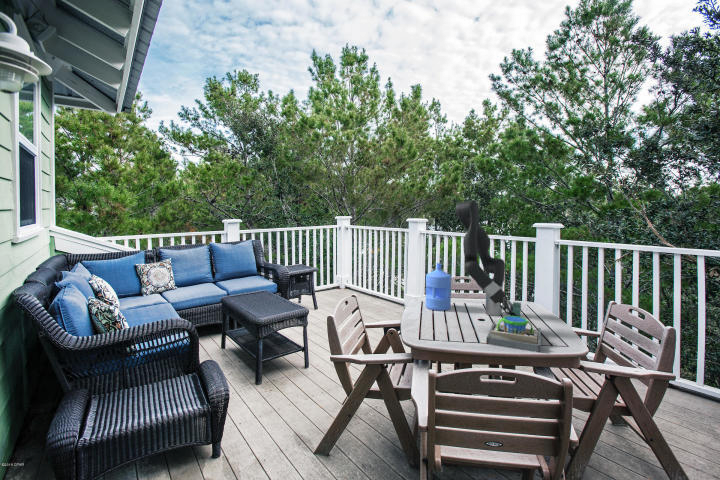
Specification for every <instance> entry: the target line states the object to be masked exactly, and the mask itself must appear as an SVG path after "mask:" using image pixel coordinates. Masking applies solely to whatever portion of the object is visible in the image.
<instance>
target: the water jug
mask: <svg viewBox="0 0 720 480" xmlns="http://www.w3.org/2000/svg"><path fill="white" fill-rule="evenodd" d="M435 267H436V269H435V270H433V271H431V272H427V274H426V276H425V281H426V282H425V285H426V286H425V287H426V288H425V308H426V309H429V310H431V311H437V312H438V311H440V312H441V311H447V310H448V311H449V310H450V309H451V307H452V304H451V302H452V301H451V298H452V297H451V296H452V274H450V273H447V272H446V271H444V270H442V263H439V262H437V263H435Z"/></svg>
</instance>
